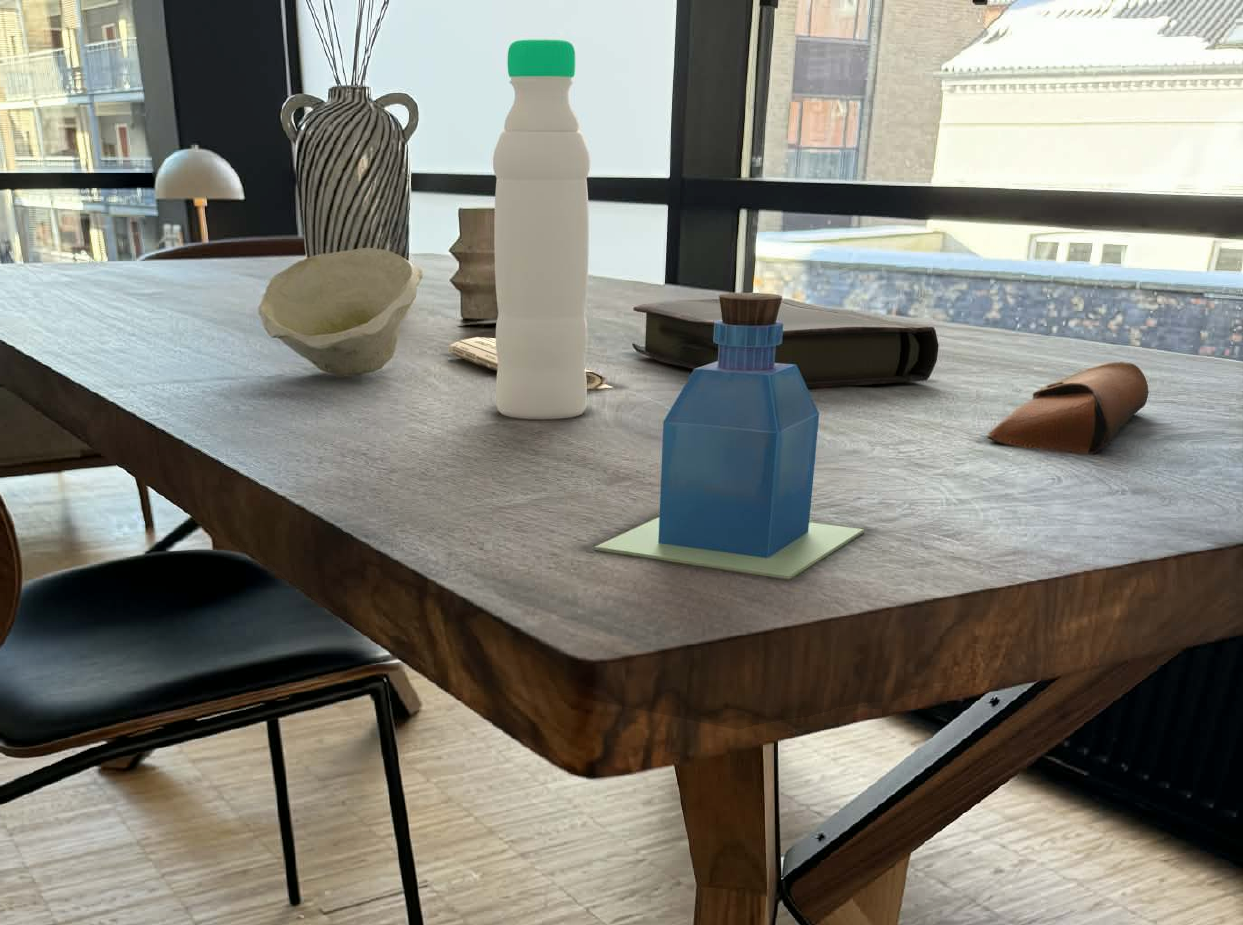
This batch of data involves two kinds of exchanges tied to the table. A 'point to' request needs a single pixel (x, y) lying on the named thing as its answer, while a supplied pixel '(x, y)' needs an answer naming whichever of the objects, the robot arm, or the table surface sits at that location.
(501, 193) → the water bottle
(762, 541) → the perfume bottle
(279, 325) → the bowl
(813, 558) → the mat
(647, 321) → the diary
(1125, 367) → the sunglasses case
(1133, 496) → the table surface
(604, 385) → the newspaper
